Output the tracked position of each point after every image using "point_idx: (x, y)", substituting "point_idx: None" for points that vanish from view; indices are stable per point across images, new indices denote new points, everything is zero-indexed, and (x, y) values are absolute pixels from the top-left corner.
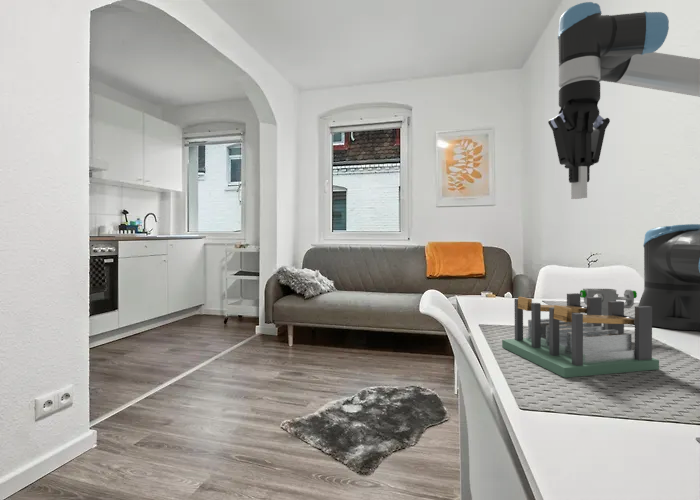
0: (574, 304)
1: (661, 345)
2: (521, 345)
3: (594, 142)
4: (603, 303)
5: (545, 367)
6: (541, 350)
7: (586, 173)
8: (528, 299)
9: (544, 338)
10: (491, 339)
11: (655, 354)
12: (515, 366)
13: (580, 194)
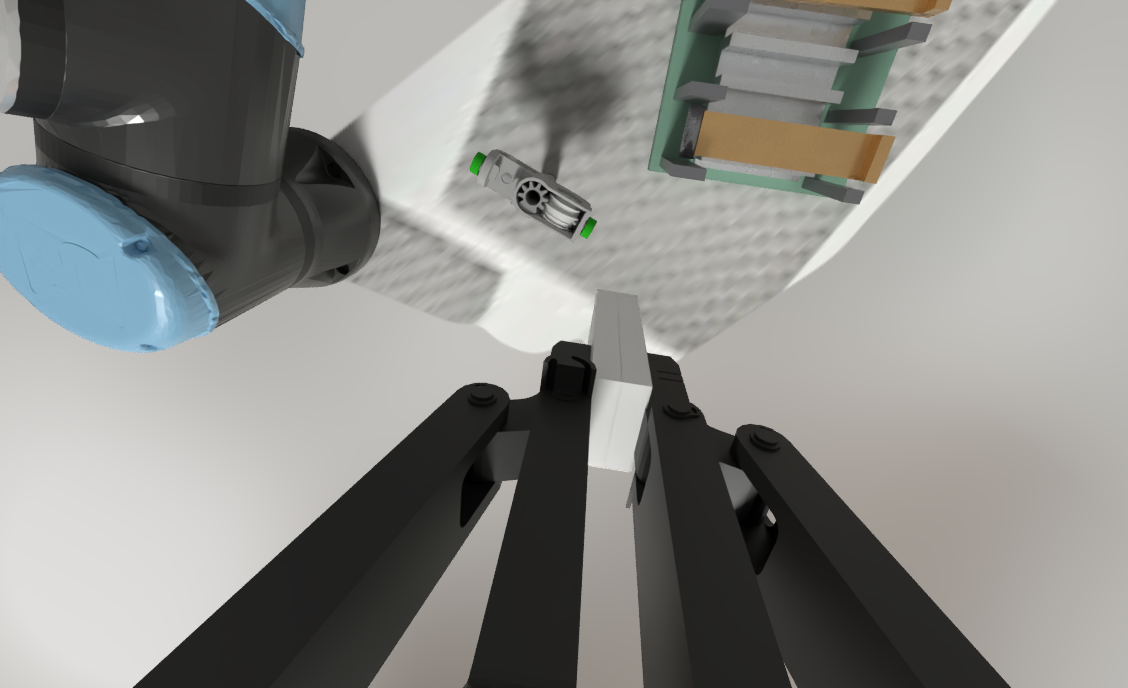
0: (688, 164)
1: (512, 76)
2: None
3: (395, 580)
4: (560, 186)
5: None
6: (847, 90)
7: (599, 350)
8: (892, 137)
9: (821, 113)
10: (796, 257)
11: (592, 24)
12: (932, 69)
13: (637, 304)
